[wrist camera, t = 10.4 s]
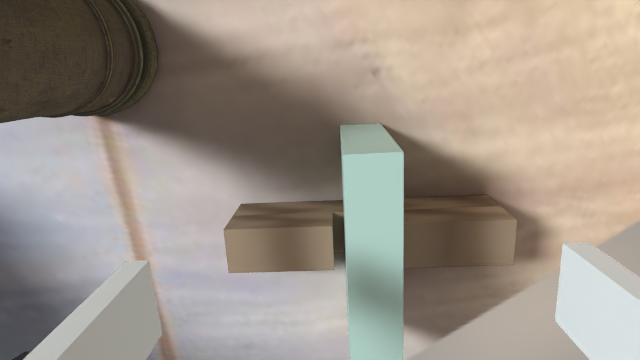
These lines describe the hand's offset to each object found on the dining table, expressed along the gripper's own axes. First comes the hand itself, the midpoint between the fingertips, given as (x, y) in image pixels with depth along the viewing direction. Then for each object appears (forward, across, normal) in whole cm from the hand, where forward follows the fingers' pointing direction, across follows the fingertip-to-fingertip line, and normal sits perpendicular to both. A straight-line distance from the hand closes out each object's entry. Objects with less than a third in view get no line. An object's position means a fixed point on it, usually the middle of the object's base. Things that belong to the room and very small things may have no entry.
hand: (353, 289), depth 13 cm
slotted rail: (+17, +2, -4) cm, 17 cm away
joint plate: (+17, +2, -4) cm, 17 cm away
